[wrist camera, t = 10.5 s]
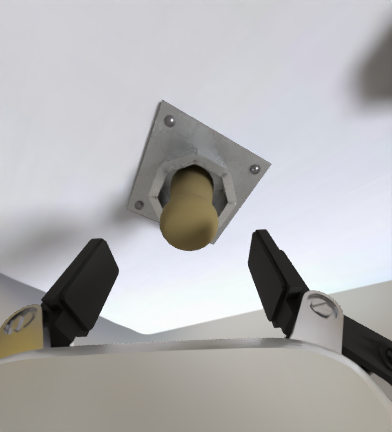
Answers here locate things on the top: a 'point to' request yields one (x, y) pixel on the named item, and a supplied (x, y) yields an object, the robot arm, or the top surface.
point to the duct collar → (194, 155)
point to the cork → (190, 210)
